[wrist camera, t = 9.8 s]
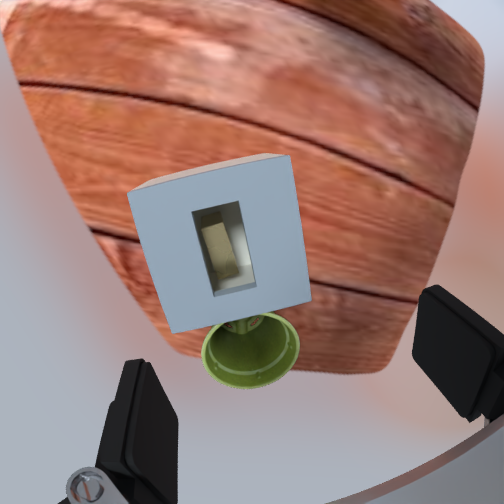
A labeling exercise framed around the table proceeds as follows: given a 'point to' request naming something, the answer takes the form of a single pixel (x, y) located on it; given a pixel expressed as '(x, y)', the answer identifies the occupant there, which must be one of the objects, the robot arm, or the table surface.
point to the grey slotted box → (240, 235)
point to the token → (218, 245)
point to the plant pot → (250, 351)
